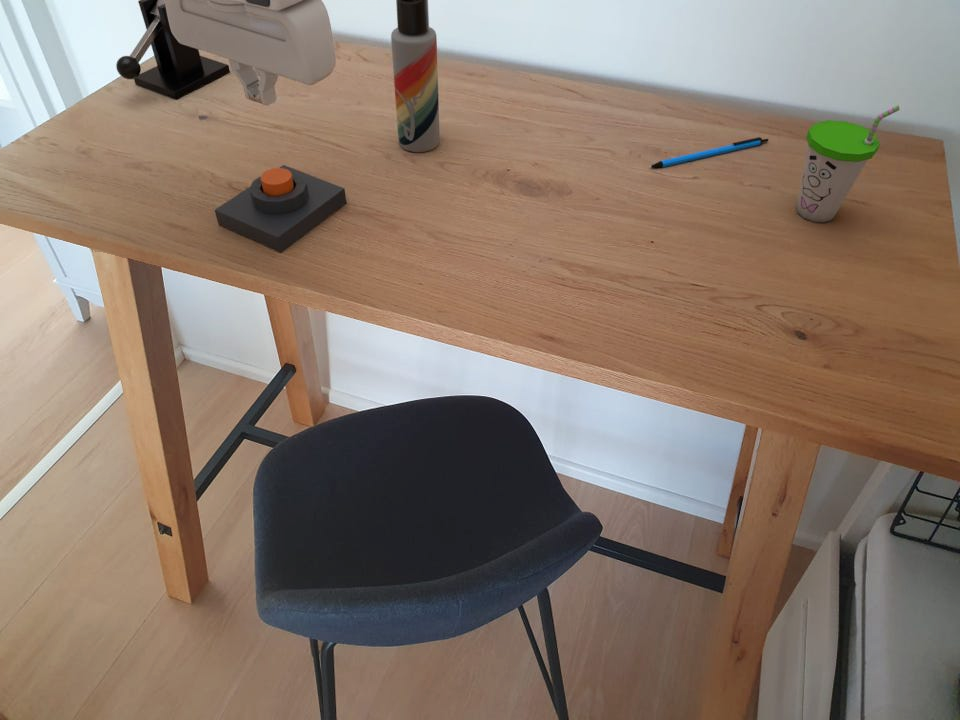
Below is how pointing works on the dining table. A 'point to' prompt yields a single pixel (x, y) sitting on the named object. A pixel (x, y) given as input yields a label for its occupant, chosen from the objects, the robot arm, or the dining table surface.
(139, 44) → the switch
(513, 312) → the dining table surface
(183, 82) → the switch bracket
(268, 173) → the button
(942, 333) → the dining table surface
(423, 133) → the lotion bottle
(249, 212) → the control block
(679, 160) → the pen
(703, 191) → the dining table surface
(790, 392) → the dining table surface
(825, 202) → the cup
